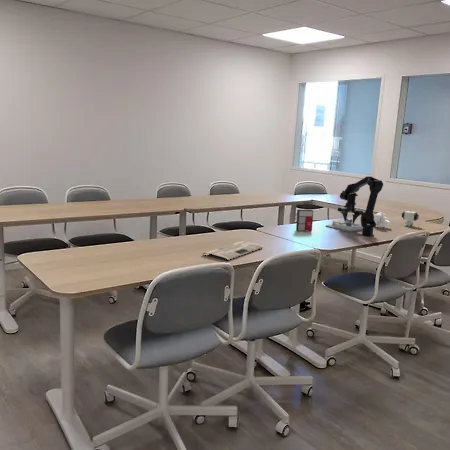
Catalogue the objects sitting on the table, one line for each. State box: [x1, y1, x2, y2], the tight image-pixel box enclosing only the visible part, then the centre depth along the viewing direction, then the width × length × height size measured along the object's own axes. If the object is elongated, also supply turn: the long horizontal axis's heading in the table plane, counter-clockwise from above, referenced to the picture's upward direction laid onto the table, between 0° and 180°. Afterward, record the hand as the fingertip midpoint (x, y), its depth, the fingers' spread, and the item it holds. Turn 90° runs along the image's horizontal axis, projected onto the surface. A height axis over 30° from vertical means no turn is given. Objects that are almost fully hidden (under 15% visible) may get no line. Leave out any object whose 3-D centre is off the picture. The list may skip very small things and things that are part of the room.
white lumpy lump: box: [373, 211, 390, 229], centre depth 352 cm, size 11×12×12 cm
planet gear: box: [342, 218, 354, 227], centre depth 343 cm, size 11×11×6 cm
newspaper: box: [202, 240, 264, 261], centre depth 269 cm, size 37×19×3 cm, turn 145°
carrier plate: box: [325, 220, 363, 233], centre depth 346 cm, size 22×17×4 cm
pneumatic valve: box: [401, 210, 420, 227], centre depth 364 cm, size 6×12×12 cm, turn 49°
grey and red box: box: [295, 209, 314, 232], centre depth 331 cm, size 11×4×15 cm, turn 101°
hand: (349, 222), depth 343 cm, fingers open, 7 cm apart
